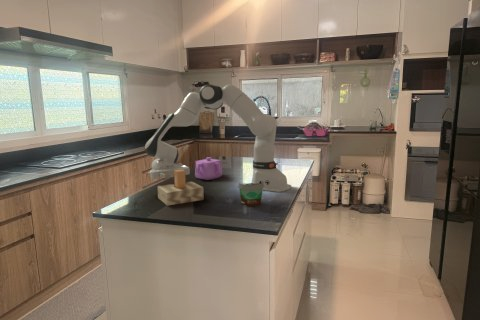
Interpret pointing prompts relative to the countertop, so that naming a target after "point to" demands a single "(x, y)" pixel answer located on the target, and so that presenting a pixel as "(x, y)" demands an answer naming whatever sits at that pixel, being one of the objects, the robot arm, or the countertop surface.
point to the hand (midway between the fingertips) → (174, 175)
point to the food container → (251, 193)
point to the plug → (179, 178)
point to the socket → (180, 193)
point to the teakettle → (208, 169)
